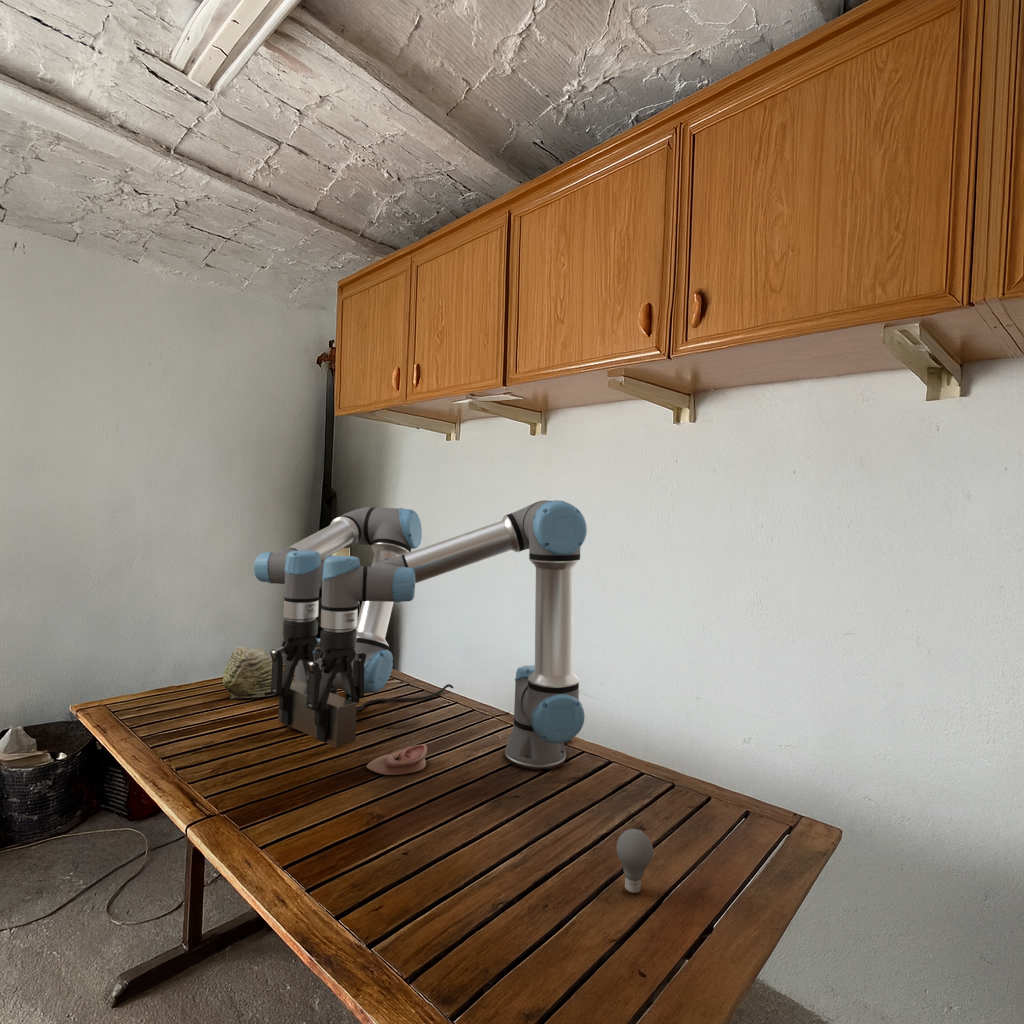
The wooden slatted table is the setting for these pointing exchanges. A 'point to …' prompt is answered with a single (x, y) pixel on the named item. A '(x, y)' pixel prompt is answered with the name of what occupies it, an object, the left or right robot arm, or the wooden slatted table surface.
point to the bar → (338, 716)
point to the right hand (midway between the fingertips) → (334, 736)
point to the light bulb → (634, 857)
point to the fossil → (248, 673)
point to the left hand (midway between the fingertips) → (297, 720)
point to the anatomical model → (400, 761)
